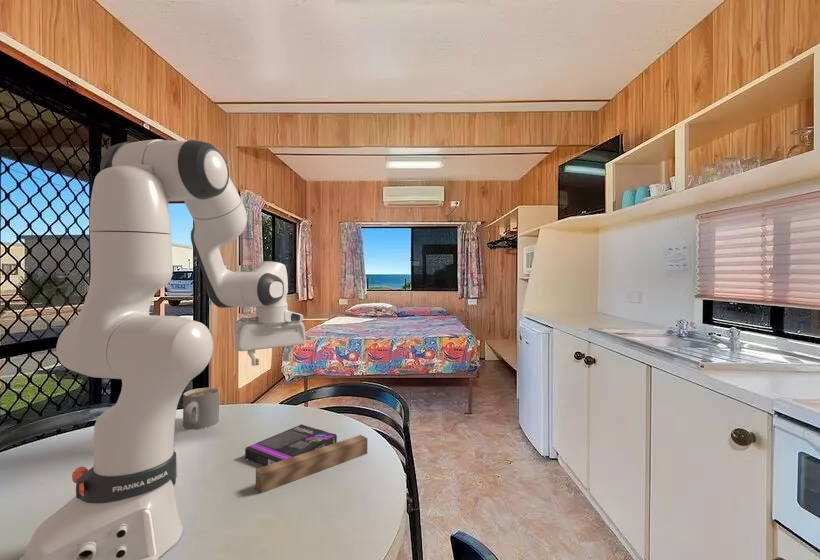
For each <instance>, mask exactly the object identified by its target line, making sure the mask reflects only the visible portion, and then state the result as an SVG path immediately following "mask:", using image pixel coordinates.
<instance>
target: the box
mask: <svg viewBox="0 0 820 560" xmlns="http://www.w3.org/2000/svg"><path fill="white" fill-rule="evenodd" d="M337 442H338V435H337V434H336V433H332V432H328V431H326V430H322V429H318V428H315V427H311V426H308V425H304V424H298V425H297V426H294V427H292V428H289V429H287V430H284V431H282V432H280V433H277V434H275V435H272V436H270V437H267V438H265V439H263V440H261V441H258V442H256V443H254V444H250V445H249V446H248V445H247V446H246V447H245V449H244V451H245V453H244V458H245V460H247V459H248V461H251V462H252V461H253V463H255V464H258V465H260V466H262V467H264V466H267V465H270V464H273V463H276V462H279V461H282V460H285V459H288V458H291V457H294V456H297V455H300V454H304V453H307V452H310V451H313V450H316V449H319V448H322V447H325V446H328V445H331V444H334V443H337Z"/></svg>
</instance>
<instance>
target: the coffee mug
mask: <svg viewBox="0 0 820 560" xmlns="http://www.w3.org/2000/svg"><path fill="white" fill-rule="evenodd" d="M182 395H183V397H182V400H183V402H182V403H183V404H182V406H183V407H182V427H184V428H183V429H185V428H187V429H186V430H191V429H195V430H201V429H200V428H203V429H206V428H205V427H207V428H210V427H209V426H211V427H213V426H215V425H217V424H218V423H219V422H220V420H219V419H220V389H219V388H216V387H201V388H194V389H190V390H187V391H184V392H183V394H182ZM212 425H213V426H212Z"/></svg>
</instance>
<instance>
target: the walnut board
mask: <svg viewBox="0 0 820 560" xmlns="http://www.w3.org/2000/svg"><path fill="white" fill-rule="evenodd" d="M366 454H368V438H367V437H366V436H364V435H362V434H359V435H356V436H353V437H349V438H347V439H343V440H340V441H337V443H334V444H331V445H328V446H325V447H322V448H319V449H316V450H313V451H310V452H307V453H304V454H300V455H297V456H294V457H291V458H288V459H285V460H282V461H279V462H276V463H273V464H270V465H267V466H261V467H258V468H256V469H255V489H256V490H257V491H258V492H259V493H260V494H262V493H265V492H268V491H271V490H273V489H275V488H279V487H281V486H283V485H286V484H289V483H292V482H295V481H297V480H300V479H302V478H305V477H308V476H310V475H313V474H317V473H318V472H321V471H324V470H326V469H329V468H332V467H335V466H337V465H339V464H343V463H345V462H348V461H351V460H354V459H356V458H358V457H362V456H364V455H366Z"/></svg>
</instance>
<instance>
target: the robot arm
mask: <svg viewBox="0 0 820 560" xmlns="http://www.w3.org/2000/svg"><path fill="white" fill-rule="evenodd" d="M99 167H100V171H99V172H98V173H97V174H96V176H95V178H94V181H93V185H92V190H91V197H90V203H89V204H90V205H89V217H88V218H89V221H88V223H89V230H88V231H89V247H90V248H89V249H90V250H89V251H90V254H89V255H90V277H89V279H90V280H89V285H88V286H89V287H88V290H87V293H86V296H85V300H84V302H83V305H82V307H81V309H80V311H79V314H77V317H76V318H75V319H74V320H73V321H72V322H71V323H69V324H68V325H67V326H66V327H65V328H64V329H63V330H62V332H61V333H60V335H59V337H58V340H57V343H56V349H55V350H56V357H57V359H58V361H59V362H60V363H61V365H62V366H63V367H65V368H66V369H67V370H70V371H73V372H75V373H77V374H80V375H84V376H87V377H91V378H96V379H97V378H99V379H113V380H115V379H116V380H121V391H120V393H119V396H118V399H117V401H116V403H115V404H114V405H112V406H111V407H108V408H107V409H106V410H104V412H103V413H101V414H100V415H99V417H98V418H97V419H96V421H95V423H94V428H93V430H94V431H93V432H94V433H93V461H92V462H93V466H92V467H91V468H89V469H88V468H86V466H80V467H77V468H75V469H74V471H73V472H71V473H72V474H71V477H72V478H71V480H72V482H73V483H74V484H76V485H75V496H74V497H73V498H71V499H70V500H69V501H68V502H67V503H65V504H64V505H63V506H62V507H61V508H59V509H58V510H57V511H56V512H54V513H53V514H52V515H51V516H49V517H48V518H46V519H45V520H44V521H43V522H42V523H41V524H40V525H39V526H38V527H37V528H36V529H35V531H34V532H33V533H32V536H31V538H30V540H29V542H28V544H27V547H26V548H25V549H26V550H25V554H24V555H22V556H21V557H20V558H18V560H159V558H160V557H161V556H163V554H165V553H166V552H167V551H169V550H170V549H171V548H173V546H174V545H176V543H177V542H178V541H179V539H180V538H181V536H182V535H183V532H184V526H183V523H182V521H181V517H180V513H179V509H178V504H177V499H176V488H175V487H176V484H177V482H176V481H177V477H178V457H177V452H176V451H175V449H174V447H175V446H174V445H175V444H174V443H175V429H176V428H175V425H176V424H175V423H176V413H177V409H178V405H179V402H180V399H181V396H182V395H183V394H184V392H185V391H184V390H185V389H186V387H187V386H188V385H189V384H190V382H191V381H192V380H193V379H194V378H196V377H197V376H198V375H200V374H201V373H202V372H203V371H204V370H205V369H206V367H207V366H208V365H209V363H210V361H211V360H212V359H211V358H212V356H213V353H214V340H213V335H212V333H211V331H210V329H209V328H208V327H207V325H205V324H204V323H202V322H200V321H197V320H194V319H189V318H186V317H181V316H178V315H177V316H176V315H159V314H158V315H156V314H155V315H154V314H153V315H152V314H150V308H151V304H152V302H153V299H154V296H155V294H156V293H157V292H158V291H159V290H160V289H162V288H163V289H164V288H165V286H166V285H168V284H169V283H170V282H171V280H172V277H173V275H174V274H173V273H174V272H173V270H174V269H173V247H172V245H173V244H172V235H171V234H172V229H171V228H172V227H171V226H172V225H171V217H170V211H169V202H181V201H182V202H184V204H185V206H186V208H187V210H188V212H189V214H190V216H191V218H192V220H193V222H194V225H193V227H192V228H191V231H190V242H191V245H192V248H193V251H194V254H195V257H196V259H197V262H198V265H199V267H200V270H201V273H202V276H203V278H204V281H205V285H206V292H207V293H206V294H207V296H208V298H209V300H210V301H211V302H212V303H213V304H214V305H215V306H216V307H217V308H221V309H226V308H240V307H241V308H255V316H254V317H241V318H240V319H238V320H236V321H235V324H234V331H235V337H234V349H235V350H237V351H238V352H247V355H248V356H249V357H250V360H251V366H252V367H253V366H254V367H256V366H259V365H260V359H259V358H258V357H255V354H256V351H257V350H265V349H266V350H267V349H275V348H284V347H286V349H287V350H286V353H285V354H283V355H282V360H283V362H290V361H291V355H292V353H293V351H294V350H295V346H302V345H304V344H305V342H306V327H305V324H304V322H303V321H304V315H303V314H301V313H298V312H294V311H293V310H289V309H288V307H289V306H288V302H287V301H288V300H287V296H288V293H289V280H288V279H289V278H288V272H287V268H286V265H285V264H284V263H282V262H280V261H274V260H264V261H261V262H259V264H258V266H257V267H258V268H257V269H255V270H254V271H233V270H230V269H227V268H226V267H225V264H224V260H223V256H222V254H221V251H220V247H222V246H225V245H228V244H229V243H232V242H233V241H235V240H236V239H238V238H239V237H240V236H241V235H242V233H243V232H244V231H245V229H246V227H247V223H248V215H247V210H246V207H245V205H244V203H243V201H242V199H241V196H240V194H239V192H238V190H237V188H236V186H235V185H234V182H233V181H232V179H231V177H230V170H229V169H230V168H229V166H228V162H227V160H226V158H225V156H224V155H223V153H222V152H221V151H219V149H218V148H216V147H215V146H214V145H213V144H212V143H210V142H206V141H201V140H196V139H189V140H174V139H173V140H171V139H168V140H167V139H159V138H157V139H148V140H147V139H146V140H140V141H139V140H138V141H132V142H131V141H124V142H120V143H116V144H114V145H111V146H110V147H108V148H107V149H106V150H105V151H104V153H103V154H102V157H101V160H100V165H99Z"/></svg>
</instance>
